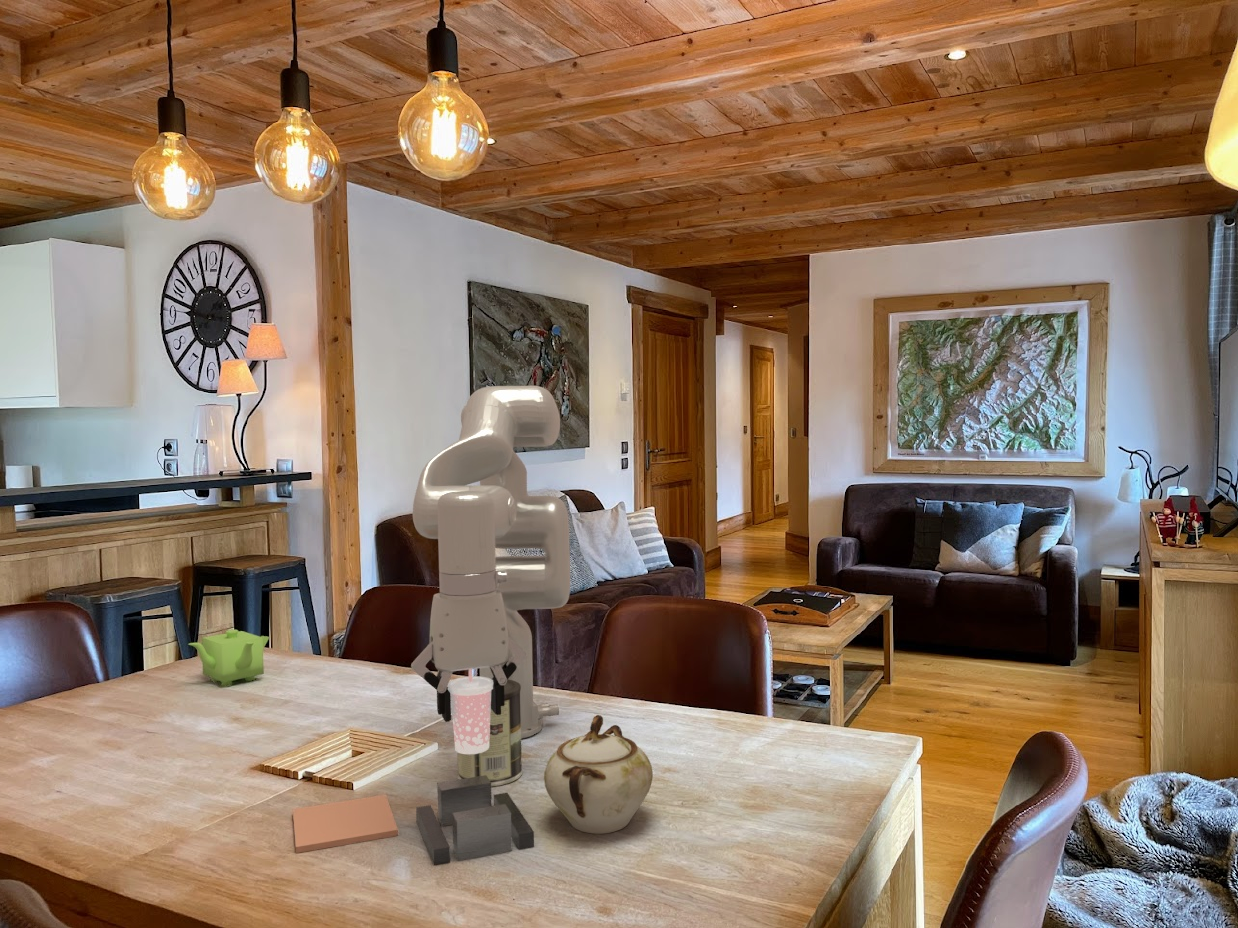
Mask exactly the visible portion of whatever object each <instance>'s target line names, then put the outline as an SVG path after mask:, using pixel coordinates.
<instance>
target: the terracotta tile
mask: <svg viewBox="0 0 1238 928" xmlns="http://www.w3.org/2000/svg"><path fill="white" fill-rule="evenodd" d="M394 817H395V816H394V814H393V812H392V808H391V806H390V802H389V800H388V797H387V794H379V795H374V796H367V797H361V798H356V799H353V798H352V799H347V800H341V801H335V802H334V801H333V802H329V803H322V804H317V805H316V804H315V805H310V806H302V807H298V808H297V807H296V808H293V809H292V820H293V832H294V847H295V853H296V854H298V853H305V852H312V851H317V850H322V849H328V848H329V849H330V848H333V847H339V846H346V845H350V844H351V845H352V844H358V843H363V842H368V841H374V840H380V839H386V838H391V837H397V836H399V828H398V826H397V823H396V819H395V818H394Z"/></svg>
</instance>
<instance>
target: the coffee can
mask: <svg viewBox="0 0 1238 928" xmlns="http://www.w3.org/2000/svg"><path fill="white" fill-rule="evenodd" d="M492 680H493V679H492ZM520 690H521V685H520V684H519V683H518V682H516V681H513V680H507V683H506V684H505V685H504V699H505V705H504V706H501V715H497V714H495V713H494V712H493V711H492V709H491V713H490V740H489V749H488V750H486V751H484V752H482V753H478V754H461V753H458V752H457V773H458V774H457V780H459V779H465V778H472V777H478V776H485V775H486V776H487V777H488V779H489V780H490V782H491V787H499V786H503V785H507V784H510V783H513V782H515V781H517V780H518V779H519V778H521V776H522V775H523V773H524V772H523V760H522V758H523V756H522V755H523V754H522V739H521V716H520V713H521V712H520Z"/></svg>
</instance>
